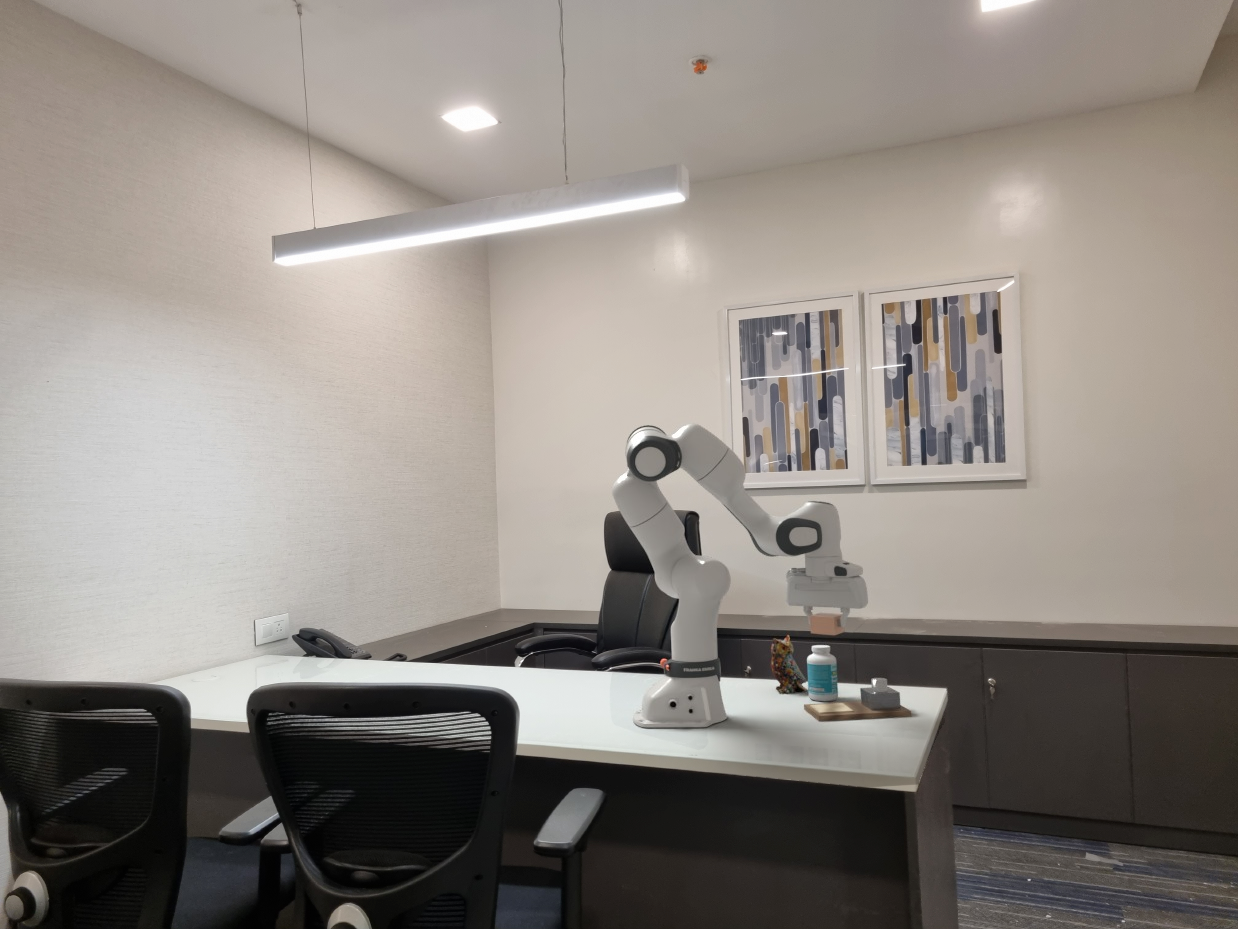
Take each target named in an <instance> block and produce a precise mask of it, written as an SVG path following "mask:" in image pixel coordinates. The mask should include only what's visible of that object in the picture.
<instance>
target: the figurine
mask: <svg viewBox="0 0 1238 929" xmlns="http://www.w3.org/2000/svg"><path fill="white" fill-rule="evenodd" d="M790 639H791V638H790V635H789V634H786V637H785V638H784V639H777V638H773V639H772V643H771V646H770V653H771V661H770V669H771V671H772V674H773V676H774V677H775V679H776V681H777V682H778V683H779V685H777V686H776V687H775V690H777V693H779V694H786V695H789V694H790V693H791V694H792V693H807V691H808V689H807V688H806V687H805V686H804V685H803V684H804V683H805V684H806V683H807V679H806V678H805V676H804V674H803V673H802V671H801V670H800V668H799V666H798V665H797V662H796V661H795V659H794V657H793V653H794V651H795V650H794V645H793V643H792V642H791V640H790Z"/></svg>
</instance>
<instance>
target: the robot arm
mask: <svg viewBox="0 0 1238 929" xmlns="http://www.w3.org/2000/svg"><path fill="white" fill-rule="evenodd" d="M624 454H625V458H626V466H627V470H626V471H625V472H624V473H623V474H621V475H620V476H619V477H618V478H617V479H616V480H615V481H614V483H613V485H612V487H611V493H612V497H613V499H614V502H615V504H616V506H617V509H618V510H619V513H620V515H621V516H622V517H623V519H624V521H625V523H626V524H627V525H628V527H629V529H630V530H631V531H632V533H633V534H634V536H635V537H636V539H637V541H638V542H639V543H640V545H641V547H642V548H643V549H644V551H645V553H646V555H647V557H648V559H649V562H650V564H651V566H652V568H653V571H654V580H655V584H656V586H657V587H658V589H659V590H660V591H661V592H663V593H664V594H666V595H667V596H669V597H671V598H673V599H678V606H677V611H676V615H675V618H674V620H673V622H672V624H671V626H670V640H671V641H670V642H671V644H670V645H671V658H670V659H666V658H662V659H661V660H660V666H661V667H662V668H663V674H664V675H662V677H660V678H659V679H658V680H657V681H656V682H654V683H653V684H652V685H651V686H650V687H648V689H646V691H645V692H644V694H643V697H642V703H641V710H639V709H638V710H637V711H635V712H634V713H633V715H632V720H633V723H634V724H635V725H636V726H638V727H641V728H707V727H709V726H711V725H713V724H717V723H720V722H723V721H725V720H726V719H727V718H728V715H727V712H726V709H725V705H724V702H723V696H722V690H721V683H720V682H721V677H722V671H721V661H720V658H719V657H718V656H719V655H718V632H717V631H718V629H717V628H718V620H719V615H720V609H721V604H722V601H723V599H724V597H725V596H726V595H727V593H728V592H729V589H730V587H731V582H732V580H731V579H732V578H731V574H730V571H729V569H728V566H726V564H724V563H723V562H722V561H719V559H716V558H714V557H712V556H709V555H698V554H697V555H696V554H694V553H693V551H691V549H690V547H689V545H688V543H687V542H688V541H687V540H686V536H685V526H684V524H683V522H682V520H680V518H679V516H678V515H677V513H676V511H675V510H674V508H673V507H672V506H671V504H670V503H669V501H668V500H667V498H666V497H665V495H664V494H663V492H662V490H661V489H660V487H659V486H658V485H659V484H658V481H659V480H661V479H664V478H665V477H667V476H668V475H670V474H672V473H674V472H677V471H678V470H679V469H682V470H683V471H684V472H686V474H688V475H689V476H690V477H691V478H693V480H694V481H696V483H698V484H699V485H700V486H701V487H702V488H703V489H704V490H706V491H707V492H708V493H709V494H711V495H712V496H713V497H714V498H715V499H716V500H718V501H719V502H720V503H721V504H722V505H723V507H725V508H726V510H727V511H728V512H729V513H730V514H731V515H733V516H734V518H735V519H736V520H737V521H738V522H739V523H740V524H741V526H743V527H744V528H745V530H746V531H747V533H748V535H749V536H750V538H751V541H752V543H753V545H754V546H755V548H756V550H757V551H758V552H759V553H761V554H762V555H764V556H766V557H793V558H794V557H799V556H801V555H804V565H805V566H804V567H800V568H799V567H791V568H790V569H789V570H788V571H787V572H786V574H785V575H786V576H785V577H786V578H785V579H786V580H785V581H786V589H785V590H786V592H785V601H786V603H787V605H789V606H795V607H796V606H797V607H803V609H802V610H803V612H804V614H805V616H806V618H808V619H807V621H808V625H809V626H811V625H810V616H811V615H814V614H813V612H812V611H813V610H814V609H813V607H814V608H817V607H818V608H834V609H835V608H838V609H840V610H839V611H840V614H842V616H841V618H840V619H837V623H838V624H837V626H838V627H845V628H846V626H847V619H848V616H849V615H850V613H851V609H864V608H866V607H867V605H868V604H869V594H868V588H867V587H868V586H867V583H866V580H865V579H864V577H863V576H862V575H863V573H864V569H863V567H862V566H861V565H858V564H856V563H853V562H850V561H848V560H847V561H846V560H844V559H843V553H842V550H841V539H842V530H841V522H840V516H839V511H838V509H837V507H836V506H835V505H834V504H833V503H831V502H826V501H817V500H810V501H806V502H805V503H804V504H803V505H802V506H801V507H800V508H798V509H797V510H795V511H793V512H792V513H789V514H786V516H776V515H773V514H770V513H768V512H766V510H764V509H763V508H762V507H761V506H760V505H759V504H758V502H756V500H755V499H754V498H753V497H752V496H751V495H750V494H749V493H748V492H747V491H746V489H745V486H744V483H745V480H746V475H747V474H746V473H747V472H746V466H745V465H744V463H743V462H742V460H741V458H739V456H738V455H737V454H736V453H735V451H733V450H732V448H730V447H729V446H728V445H727V444H726V443H724V441H722V439H720V438H719V437H718V436H716V435H715V434H714V433H712V432H711V431H709V430H708V429H706V428H705V427H703V426H702V425H699V424H698V423H688V424H685V425H683V426H682V427H680V428H679V429H678V430H677V431H676V432H675V433H673V434H667V433H665V431H664V430H662V429H661V428H660V427H658V426H655V425H652V424H651V425H643V426H642V425H641V426H639V427H636V428H634V430H633V431H632V432H631V433H630V435H629V436H628V438H627V440H626V444H625V453H624Z"/></svg>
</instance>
